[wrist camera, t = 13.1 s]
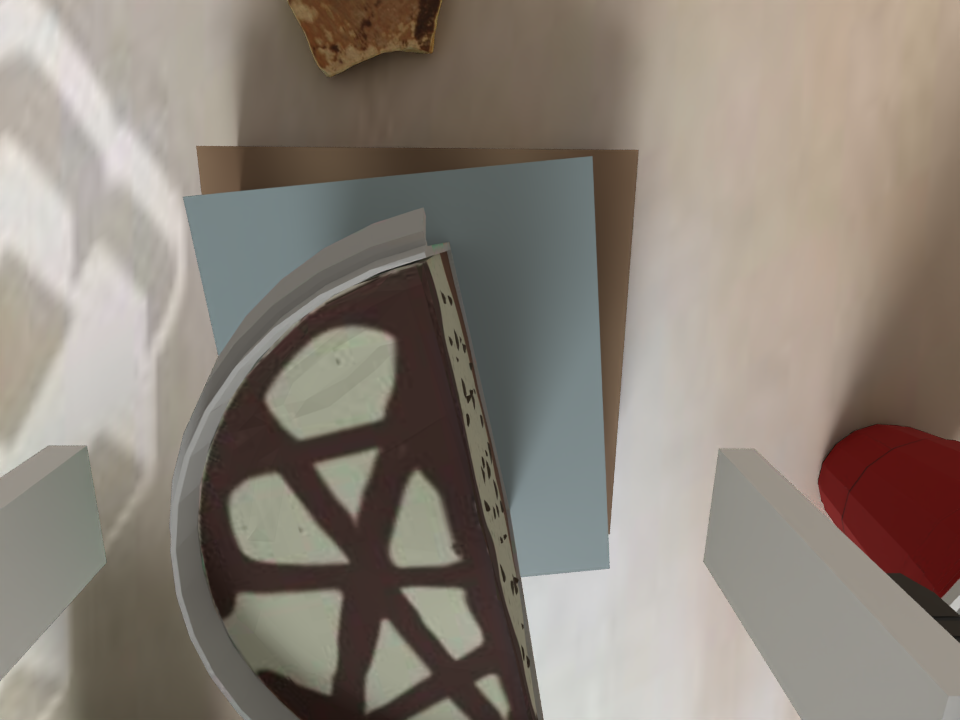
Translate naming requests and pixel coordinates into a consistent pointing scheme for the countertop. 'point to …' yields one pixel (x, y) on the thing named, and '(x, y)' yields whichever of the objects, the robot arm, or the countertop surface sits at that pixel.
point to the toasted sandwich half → (364, 29)
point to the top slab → (467, 315)
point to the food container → (353, 501)
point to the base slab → (331, 164)
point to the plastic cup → (899, 502)
